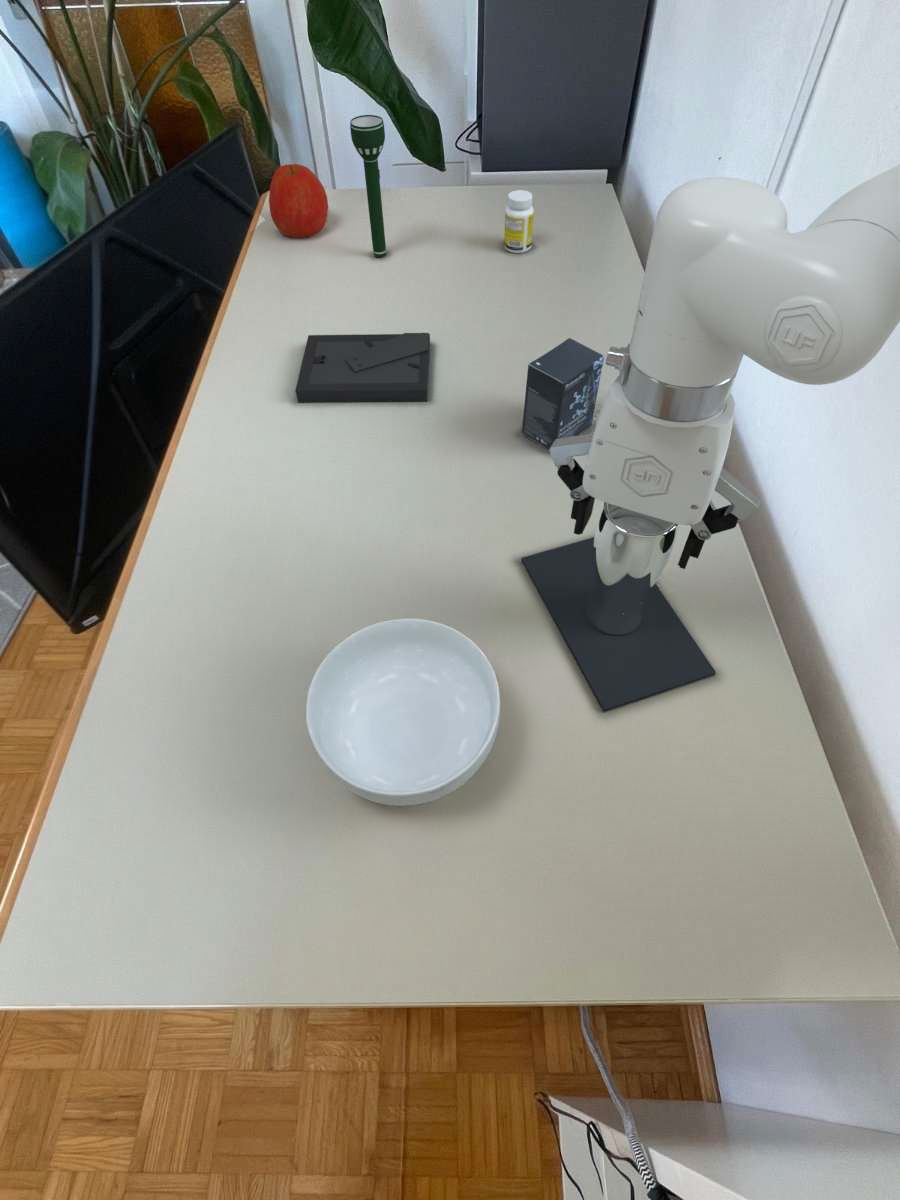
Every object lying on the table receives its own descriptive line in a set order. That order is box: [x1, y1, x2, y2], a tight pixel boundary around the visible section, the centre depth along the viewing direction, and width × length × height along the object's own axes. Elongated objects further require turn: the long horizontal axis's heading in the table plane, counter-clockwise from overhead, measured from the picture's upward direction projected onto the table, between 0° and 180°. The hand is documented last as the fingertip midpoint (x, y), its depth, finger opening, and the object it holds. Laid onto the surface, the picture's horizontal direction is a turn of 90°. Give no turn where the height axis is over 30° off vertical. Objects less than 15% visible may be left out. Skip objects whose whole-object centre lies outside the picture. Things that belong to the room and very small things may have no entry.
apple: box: [268, 163, 329, 238], centre depth 122 cm, size 10×10×10 cm
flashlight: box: [349, 114, 387, 259], centre depth 112 cm, size 5×5×20 cm
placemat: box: [521, 536, 717, 713], centre depth 72 cm, size 20×12×1 cm, turn 19°
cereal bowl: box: [305, 617, 501, 807], centre depth 62 cm, size 17×17×7 cm
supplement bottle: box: [503, 189, 535, 254], centre depth 117 cm, size 5×5×8 cm
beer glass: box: [584, 502, 680, 635], centre depth 66 cm, size 7×7×15 cm
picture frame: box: [295, 332, 431, 403], centre depth 98 cm, size 13×2×18 cm
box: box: [521, 337, 605, 451], centre depth 86 cm, size 8×6×11 cm
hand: (632, 540), depth 63 cm, fingers open, 9 cm apart
